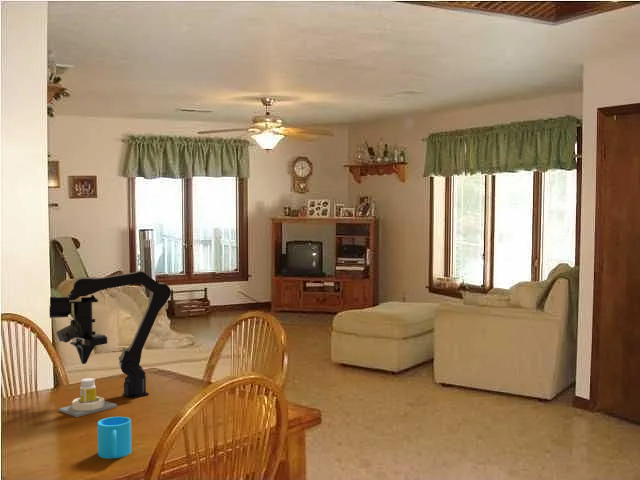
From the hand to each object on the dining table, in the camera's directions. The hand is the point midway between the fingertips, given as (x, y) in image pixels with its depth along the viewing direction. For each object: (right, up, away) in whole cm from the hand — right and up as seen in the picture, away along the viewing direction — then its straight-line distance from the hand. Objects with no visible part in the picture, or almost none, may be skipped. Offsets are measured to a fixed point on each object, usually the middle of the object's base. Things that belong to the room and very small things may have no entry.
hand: (84, 363), depth 224 cm
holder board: (+5, -12, -10) cm, 16 cm away
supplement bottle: (+5, -12, -10) cm, 16 cm away
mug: (+25, -14, -51) cm, 59 cm away
